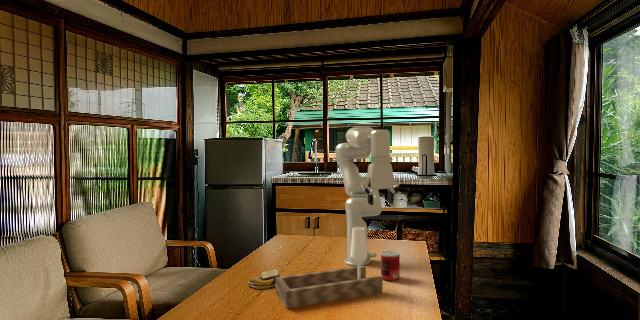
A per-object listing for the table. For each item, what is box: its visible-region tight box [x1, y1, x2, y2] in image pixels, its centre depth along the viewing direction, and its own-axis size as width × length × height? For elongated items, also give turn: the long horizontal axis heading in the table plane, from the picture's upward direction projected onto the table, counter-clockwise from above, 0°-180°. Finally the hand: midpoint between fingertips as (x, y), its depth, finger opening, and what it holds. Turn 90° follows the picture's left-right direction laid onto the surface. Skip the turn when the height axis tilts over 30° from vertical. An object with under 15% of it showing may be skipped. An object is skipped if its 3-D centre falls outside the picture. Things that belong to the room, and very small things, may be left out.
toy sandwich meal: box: [247, 268, 281, 290], centre depth 162 cm, size 12×14×5 cm
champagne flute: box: [350, 227, 368, 279], centre depth 156 cm, size 7×7×24 cm
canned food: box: [380, 250, 401, 283], centre depth 166 cm, size 8×8×11 cm
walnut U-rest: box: [275, 265, 383, 310], centre depth 152 cm, size 38×16×6 cm, turn 110°
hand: (380, 203), depth 158 cm, fingers open, 8 cm apart
